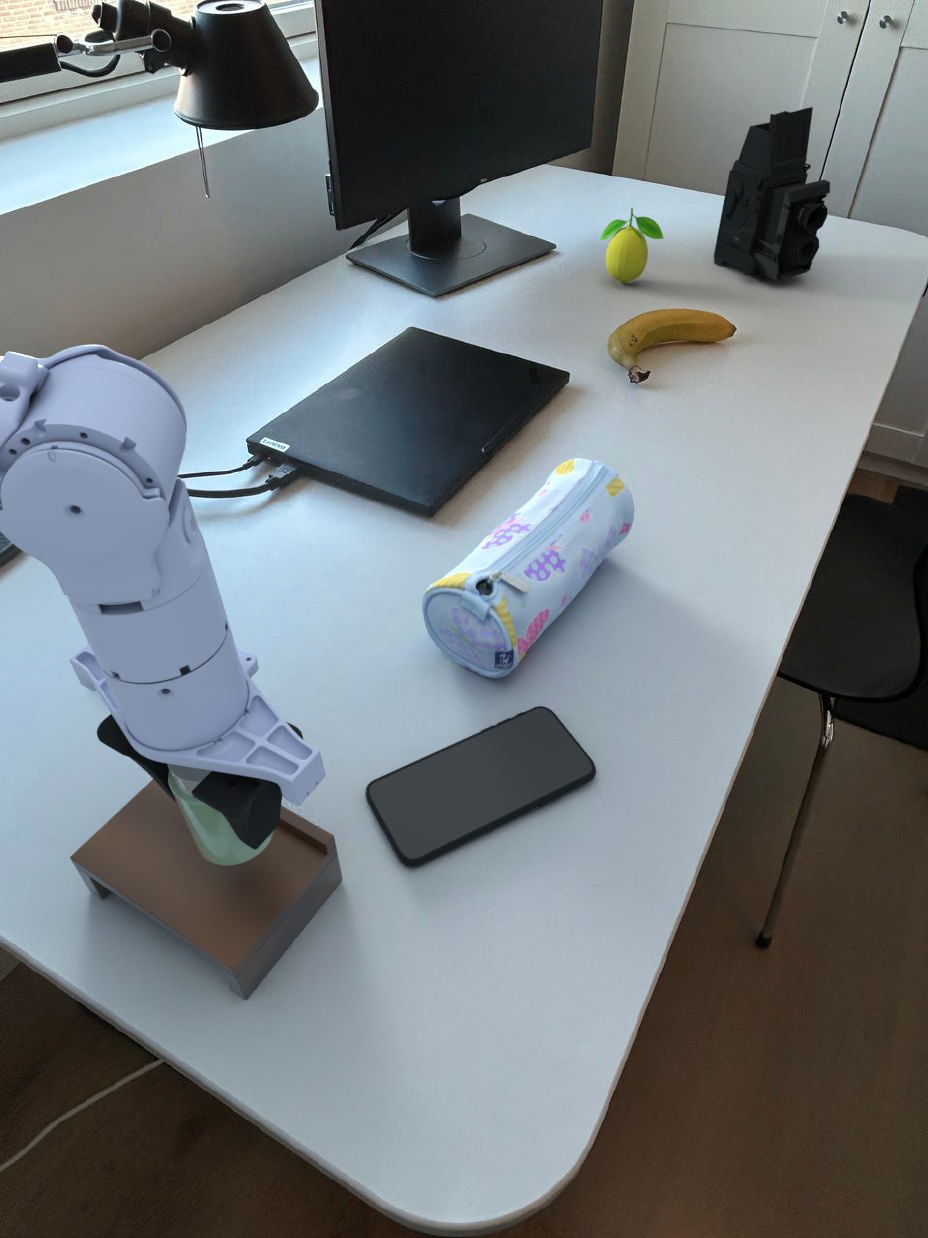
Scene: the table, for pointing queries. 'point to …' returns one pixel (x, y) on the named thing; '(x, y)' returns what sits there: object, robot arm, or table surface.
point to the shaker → (208, 821)
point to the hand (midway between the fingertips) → (229, 813)
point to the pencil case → (528, 568)
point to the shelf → (213, 883)
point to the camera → (772, 202)
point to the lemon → (629, 247)
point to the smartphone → (478, 784)
